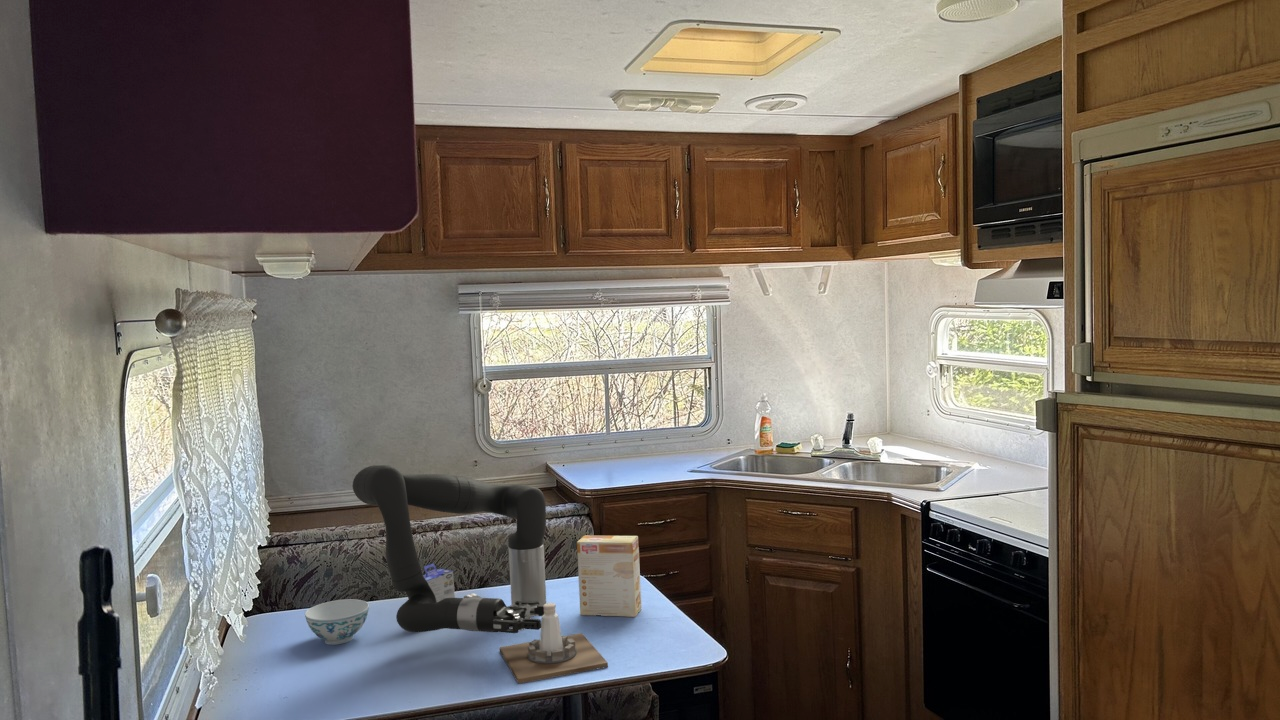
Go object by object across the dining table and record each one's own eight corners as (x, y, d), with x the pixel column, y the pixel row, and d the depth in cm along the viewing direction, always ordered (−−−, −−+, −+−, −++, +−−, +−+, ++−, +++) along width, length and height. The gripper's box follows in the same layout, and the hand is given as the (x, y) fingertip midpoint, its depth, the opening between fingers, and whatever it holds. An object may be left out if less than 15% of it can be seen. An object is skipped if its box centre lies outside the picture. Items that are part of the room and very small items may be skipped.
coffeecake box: (642, 608, 233) (639, 535, 232) (635, 617, 226) (632, 542, 225) (587, 606, 236) (584, 534, 235) (579, 615, 229) (576, 541, 228)
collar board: (499, 651, 207) (499, 636, 207) (582, 637, 214) (581, 622, 214) (518, 683, 188) (517, 667, 188) (607, 667, 195) (607, 651, 195)
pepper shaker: (534, 653, 201) (532, 605, 201) (552, 645, 205) (550, 598, 205) (551, 658, 198) (548, 609, 197) (568, 650, 202) (566, 603, 201)
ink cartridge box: (442, 613, 236) (439, 559, 235) (457, 616, 233) (454, 561, 232) (414, 624, 228) (411, 569, 227) (429, 628, 225) (426, 572, 224)
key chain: (462, 600, 248) (461, 595, 247) (473, 597, 250) (473, 592, 250) (487, 610, 238) (487, 605, 238) (499, 607, 240) (498, 601, 240)
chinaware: (305, 635, 223) (303, 605, 223) (367, 625, 229) (365, 595, 229) (308, 655, 210) (306, 623, 209) (374, 643, 216) (372, 612, 215)
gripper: (467, 609, 198) (535, 612, 194) (493, 589, 212) (557, 591, 208) (468, 641, 198) (536, 645, 194) (494, 619, 212) (558, 623, 208)
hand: (547, 617), depth 201 cm, fingers open, 8 cm apart
